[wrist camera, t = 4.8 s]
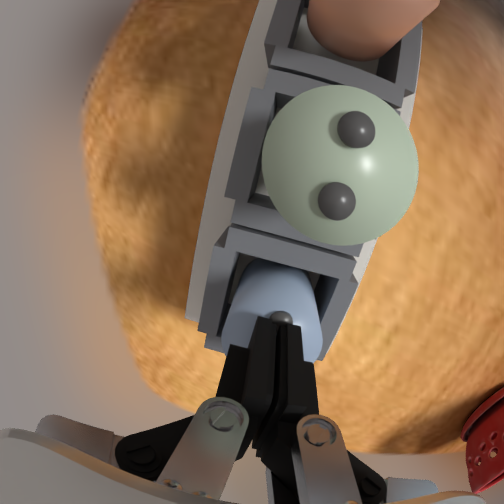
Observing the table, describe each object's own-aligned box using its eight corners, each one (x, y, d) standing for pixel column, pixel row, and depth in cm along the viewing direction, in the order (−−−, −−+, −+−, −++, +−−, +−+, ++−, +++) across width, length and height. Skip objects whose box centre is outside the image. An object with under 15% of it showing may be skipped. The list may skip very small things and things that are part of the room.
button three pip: (248, 245, 14) (231, 291, 9) (321, 264, 14) (339, 318, 9) (232, 308, 16) (213, 369, 11) (298, 325, 16) (302, 389, 11)
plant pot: (460, 405, 21) (493, 478, 10) (530, 359, 18) (569, 413, 7) (444, 448, 25) (462, 505, 13) (507, 411, 22) (532, 459, 11)
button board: (268, -11, 11) (263, -54, 7) (413, 35, 11) (447, 7, 6) (191, 307, 19) (166, 350, 14) (324, 340, 19) (333, 389, 14)
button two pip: (282, 104, 10) (283, 63, 5) (373, 133, 10) (435, 120, 5) (259, 194, 11) (243, 223, 6) (349, 220, 11) (393, 265, 6)
